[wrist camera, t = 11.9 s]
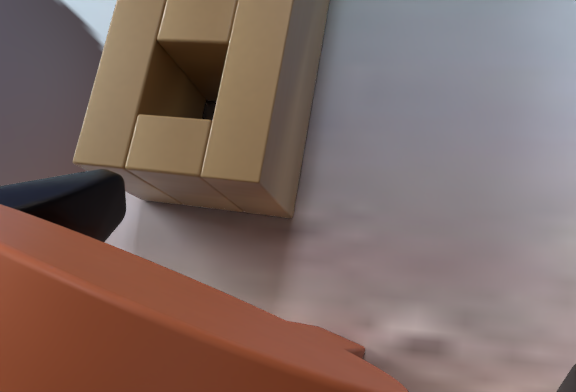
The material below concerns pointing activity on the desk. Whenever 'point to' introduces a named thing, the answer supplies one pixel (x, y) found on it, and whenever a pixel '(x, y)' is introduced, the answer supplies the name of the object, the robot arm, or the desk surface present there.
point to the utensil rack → (193, 94)
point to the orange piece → (148, 326)
